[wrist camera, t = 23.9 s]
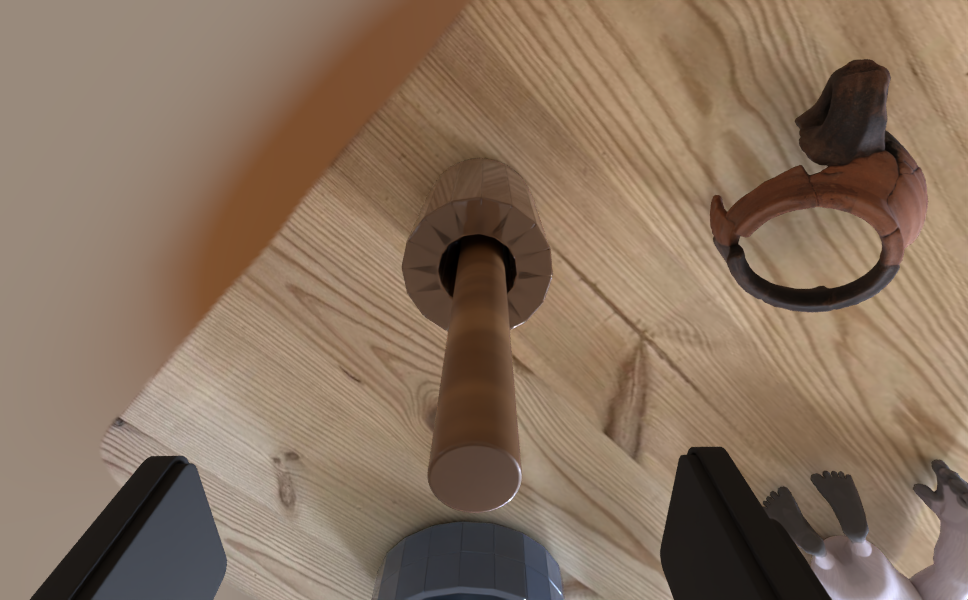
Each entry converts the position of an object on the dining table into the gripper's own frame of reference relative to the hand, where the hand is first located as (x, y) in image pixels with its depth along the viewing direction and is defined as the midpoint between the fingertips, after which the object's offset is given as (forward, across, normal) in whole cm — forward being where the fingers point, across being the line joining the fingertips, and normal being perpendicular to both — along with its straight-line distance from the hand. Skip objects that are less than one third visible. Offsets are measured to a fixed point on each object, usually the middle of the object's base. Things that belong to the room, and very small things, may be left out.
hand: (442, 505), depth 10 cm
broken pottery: (+21, -18, -2) cm, 28 cm away
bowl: (+21, 0, +32) cm, 38 cm away
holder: (+21, -1, 0) cm, 21 cm away
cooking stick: (+21, -1, 0) cm, 21 cm away
